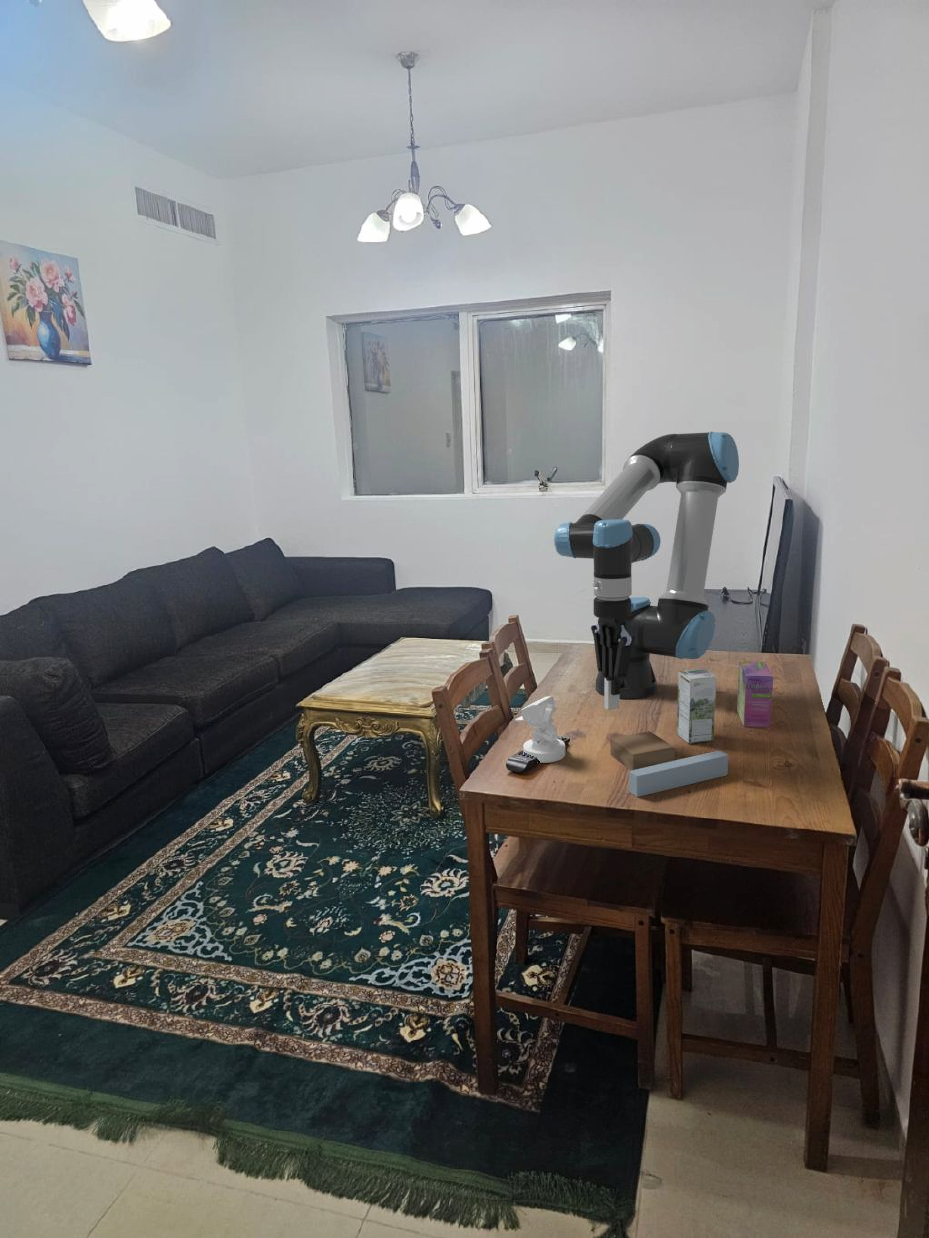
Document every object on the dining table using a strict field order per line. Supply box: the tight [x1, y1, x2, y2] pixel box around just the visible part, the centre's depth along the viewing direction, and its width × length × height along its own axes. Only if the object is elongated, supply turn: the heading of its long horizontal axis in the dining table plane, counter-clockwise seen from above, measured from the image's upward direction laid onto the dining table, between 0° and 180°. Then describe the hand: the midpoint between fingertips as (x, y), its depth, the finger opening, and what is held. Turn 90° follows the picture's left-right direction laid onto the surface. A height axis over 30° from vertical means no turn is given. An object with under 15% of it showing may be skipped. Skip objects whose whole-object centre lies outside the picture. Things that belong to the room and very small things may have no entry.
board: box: [628, 750, 729, 798], centre depth 142 cm, size 2×20×4 cm, turn 111°
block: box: [610, 730, 675, 771], centre depth 153 cm, size 9×9×4 cm
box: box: [736, 661, 774, 729], centre depth 170 cm, size 10×6×12 cm, turn 168°
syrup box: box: [676, 668, 717, 745], centre depth 161 cm, size 6×6×14 cm
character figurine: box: [514, 695, 566, 764], centre depth 157 cm, size 9×10×12 cm
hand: (611, 707), depth 161 cm, fingers closed
